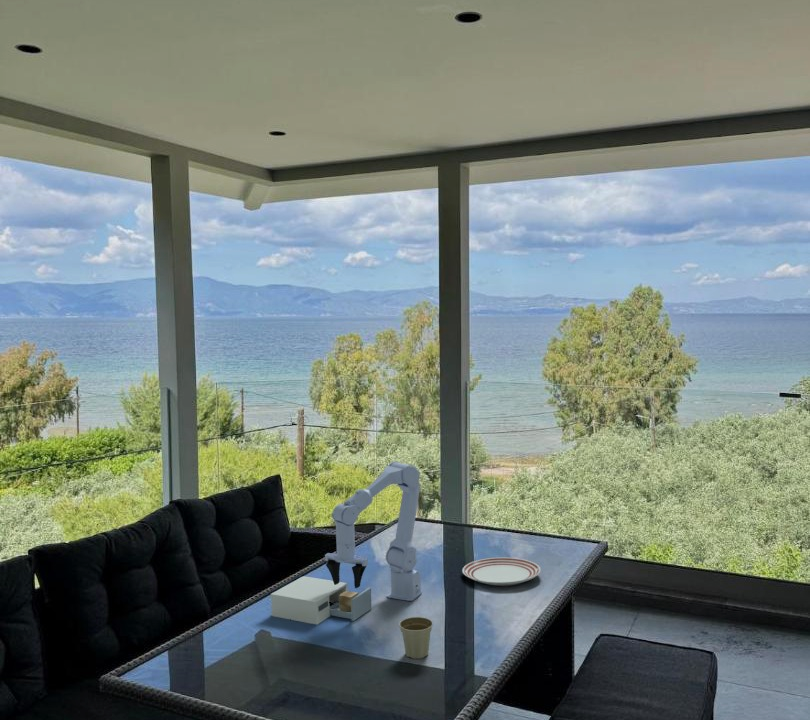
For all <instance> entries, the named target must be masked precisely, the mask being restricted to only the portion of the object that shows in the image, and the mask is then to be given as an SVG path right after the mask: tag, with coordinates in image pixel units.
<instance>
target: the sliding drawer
mask: <svg viewBox="0 0 810 720" xmlns="http://www.w3.org/2000/svg"><path fill="white" fill-rule="evenodd" d="M329 606H330V616H332V617H339V618H344V619H349V620H351V621H352V622H354V621H356V620H357V619H359V618H360V617H362V616H363V615H364V614H366V613H367V612H368V611H371V610H372V587H367V588H366V589H365V590H363V591H362V592H360V593H358V595H357V596H355V597H354V598H352V599H351V613H350V612H344V611H340V609H339V601H338V602H336V603H332V605H329Z"/></svg>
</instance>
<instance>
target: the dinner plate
mask: <svg viewBox="0 0 810 720" xmlns="http://www.w3.org/2000/svg"><path fill="white" fill-rule="evenodd" d="M541 569H542V568H541V566H540V565H538V564H537V563H536V562H533V561H530V560H529V559H528V560H527V559H523V558H516V557H506V556H505V557H488V558H483V559H477V560H473V561H471V562H469V563H467V564H465V565H464V567H462V569H461V572H462V575H464V576H465V577H467V578H469V579H471V580H473V581H475V582H477V583H482V584H485V585H491V586H497V587H498V586H499V587H500V586H501V587H505V586H506V587H507V586H515V585H519V584H522V583H524V582H525V583H526V582H528V581H530V580H532V579H534V578H536V577H537V576H538V575H540V574H541V571H542V570H541Z"/></svg>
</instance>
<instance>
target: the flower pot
mask: <svg viewBox="0 0 810 720" xmlns="http://www.w3.org/2000/svg"><path fill="white" fill-rule="evenodd" d="M433 626H434V622H433V620H432V619H430V618H427V617H425V616H424V617H423V616H422V617H421V616H412V617H406V618H404V619H402V620H400V621H399V622H398V627H399V628H400V631H401V633H402V634H401V635H402V638H403V639H402V641H403V645H404V650H405V651H404V652H405V655H406V656H407V658H408V657H410V658H411V659H413V660H414V659H415V660H417V659H424V658H425V657H427V656H428V655H429V649H430V639H431V632H432V628H433Z"/></svg>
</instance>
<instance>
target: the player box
mask: <svg viewBox="0 0 810 720" xmlns="http://www.w3.org/2000/svg"><path fill="white" fill-rule="evenodd" d="M345 591H348V583H347V582H342V581H339V583H338V584H336V585H334V582H333V580H331V579H330V580H329V579H324V578H317V577H312V576H311V577H310V576H304V575H303V576H301V577H299V578H297V579H296V580H294V581H291V582H290V583H288V584H286V585H284V586H283V587H281V588H279V589H277V590H276V591H274V592H272V593H270V609H271V615H270V616H271V617H275V618H279V619H280V618H281V619H284V620H290V619H291V621H295V622H296V621H297V622H302V623H306V624H312V625H317V626H318V625H319V624H320V623H322V622H324V621H325V620H326V619H328V618H330V617H331V615H330V606H331V605H330V604H335V603H336V602H338V601H339V595H340V594H342V593H344V592H345ZM329 602H331V603H329Z"/></svg>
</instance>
